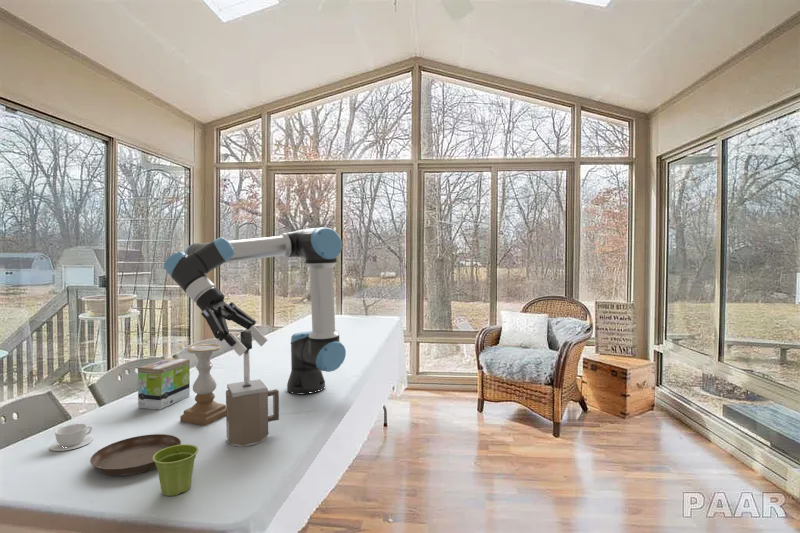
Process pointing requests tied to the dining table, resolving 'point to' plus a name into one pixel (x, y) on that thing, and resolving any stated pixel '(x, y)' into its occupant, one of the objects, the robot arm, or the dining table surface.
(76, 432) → the teacup
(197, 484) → the dining table surface
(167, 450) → the plant pot
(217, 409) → the candle holder
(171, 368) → the tea box
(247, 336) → the plunger
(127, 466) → the plant saucer
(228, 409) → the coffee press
